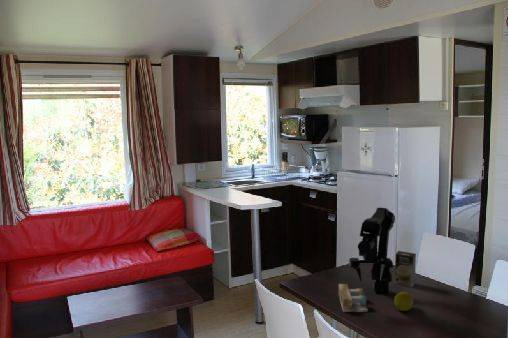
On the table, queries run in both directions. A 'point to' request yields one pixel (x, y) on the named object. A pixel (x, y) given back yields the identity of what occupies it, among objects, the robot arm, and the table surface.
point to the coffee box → (405, 268)
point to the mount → (349, 301)
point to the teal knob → (359, 299)
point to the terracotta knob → (356, 292)
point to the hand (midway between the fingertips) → (370, 280)
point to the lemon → (403, 301)
